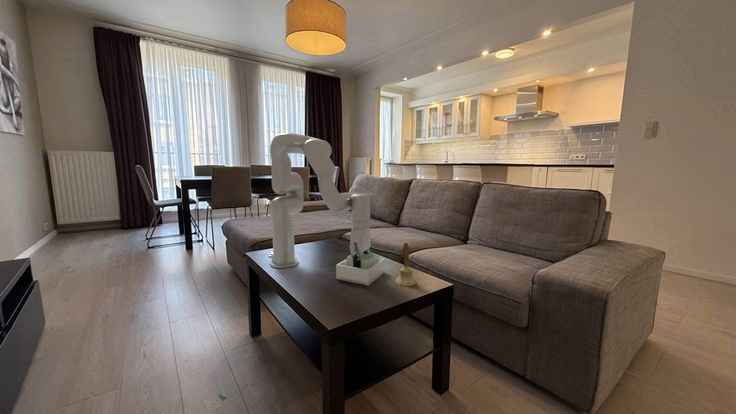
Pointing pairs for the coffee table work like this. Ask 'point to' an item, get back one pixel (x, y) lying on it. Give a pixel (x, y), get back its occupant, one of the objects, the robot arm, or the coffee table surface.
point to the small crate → (363, 261)
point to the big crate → (360, 272)
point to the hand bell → (405, 270)
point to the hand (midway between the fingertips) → (361, 265)
